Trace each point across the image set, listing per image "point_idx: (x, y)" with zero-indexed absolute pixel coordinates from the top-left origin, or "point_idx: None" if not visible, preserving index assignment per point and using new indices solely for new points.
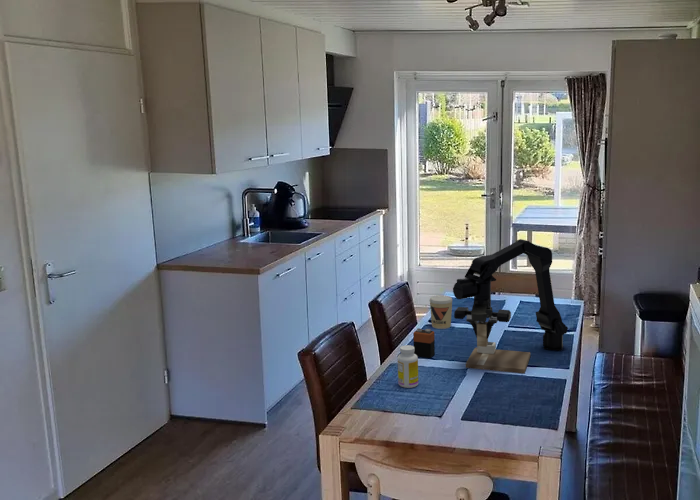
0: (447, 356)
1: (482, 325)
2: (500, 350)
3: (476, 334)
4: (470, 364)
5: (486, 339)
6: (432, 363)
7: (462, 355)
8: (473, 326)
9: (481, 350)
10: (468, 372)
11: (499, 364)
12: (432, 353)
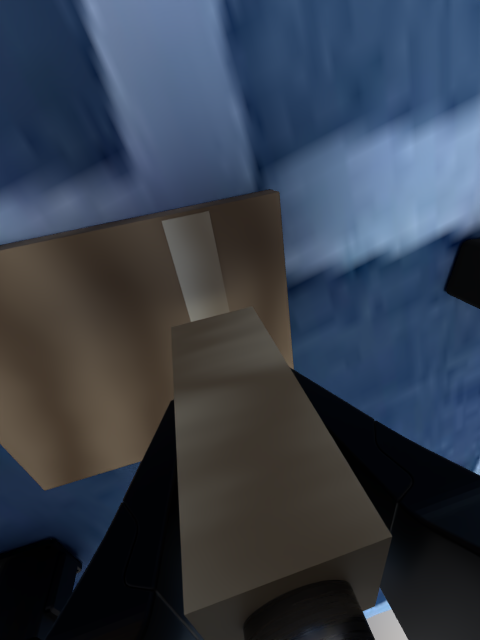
0: (388, 299)
1: (265, 550)
2: None
3: (303, 386)
4: (246, 197)
5: (175, 377)
6: (452, 172)
7: (327, 341)
8: (412, 458)
9: None
10: (226, 111)
11: (75, 283)
12: (467, 268)
